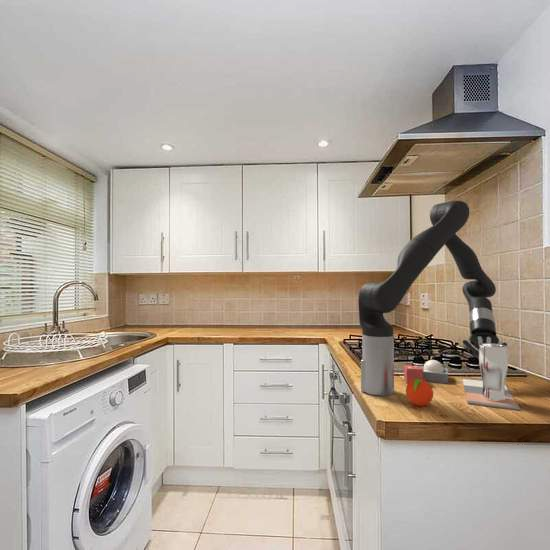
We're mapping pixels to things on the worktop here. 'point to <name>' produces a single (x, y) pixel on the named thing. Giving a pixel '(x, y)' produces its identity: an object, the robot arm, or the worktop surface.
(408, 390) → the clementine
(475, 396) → the game board
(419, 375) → the die
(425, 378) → the dome base
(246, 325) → the worktop surface
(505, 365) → the beer glass
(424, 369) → the dome cap
